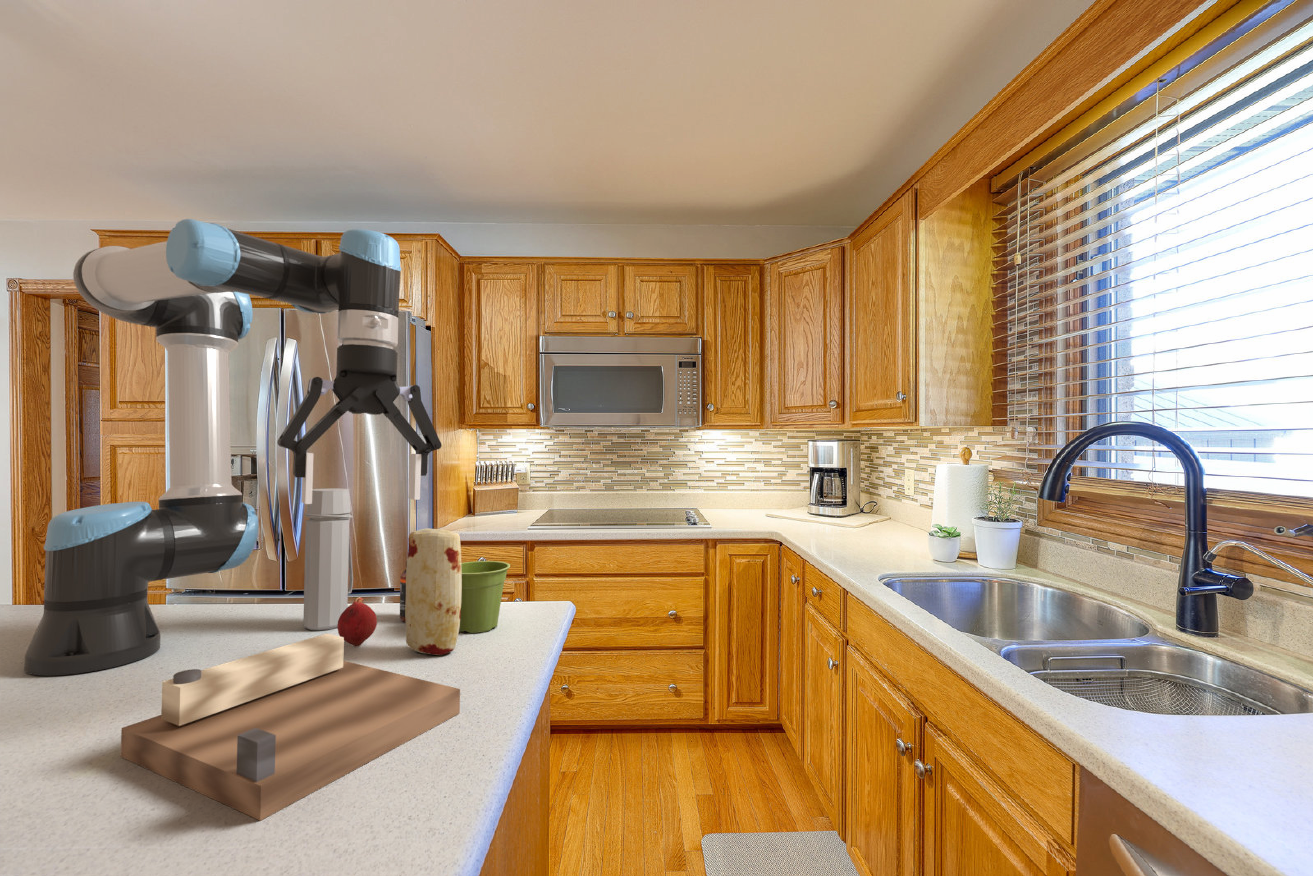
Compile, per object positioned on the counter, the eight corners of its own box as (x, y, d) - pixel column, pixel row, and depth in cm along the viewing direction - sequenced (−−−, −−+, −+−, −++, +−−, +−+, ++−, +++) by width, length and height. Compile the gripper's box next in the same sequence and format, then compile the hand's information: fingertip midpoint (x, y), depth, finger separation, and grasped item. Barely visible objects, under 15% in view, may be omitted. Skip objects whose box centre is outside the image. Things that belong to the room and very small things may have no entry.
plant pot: (484, 615, 117) (485, 558, 118) (522, 627, 110) (523, 566, 110) (428, 628, 108) (430, 566, 109) (466, 642, 101) (467, 576, 101)
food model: (393, 655, 94) (396, 528, 95) (421, 642, 101) (423, 524, 101) (447, 662, 92) (449, 531, 92) (471, 648, 98) (474, 526, 98)
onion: (359, 653, 95) (361, 603, 95) (328, 651, 96) (329, 601, 96) (383, 642, 100) (384, 594, 101) (353, 639, 102) (354, 592, 102)
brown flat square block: (120, 756, 63) (122, 694, 63) (331, 678, 84) (332, 632, 84) (260, 820, 52) (262, 746, 52) (459, 713, 74) (460, 660, 74)
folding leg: (179, 726, 63) (180, 681, 63) (161, 719, 64) (162, 675, 64) (343, 667, 80) (343, 632, 80) (325, 663, 81) (326, 628, 81)
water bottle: (323, 634, 104) (327, 491, 105) (291, 628, 107) (295, 489, 108) (366, 620, 113) (369, 488, 113) (335, 615, 116) (338, 487, 116)
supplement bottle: (439, 617, 116) (440, 558, 116) (415, 625, 110) (416, 564, 111) (417, 613, 118) (418, 556, 118) (392, 621, 113) (393, 561, 113)
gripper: (264, 330, 71) (258, 507, 71) (466, 354, 87) (462, 499, 87) (256, 337, 77) (250, 502, 77) (447, 359, 93) (443, 495, 93)
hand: (363, 501), depth 82 cm, fingers open, 13 cm apart
